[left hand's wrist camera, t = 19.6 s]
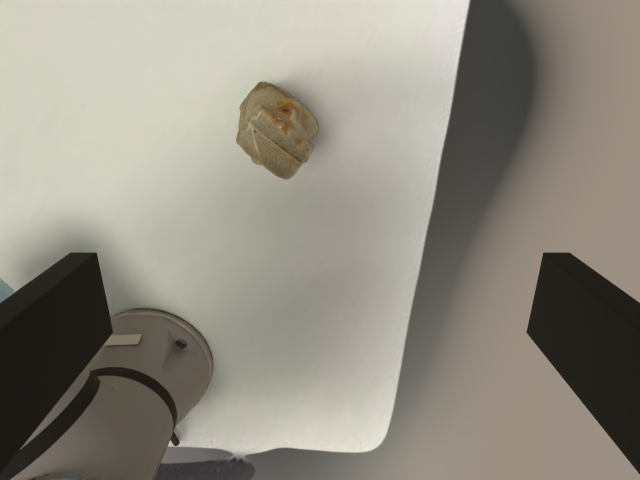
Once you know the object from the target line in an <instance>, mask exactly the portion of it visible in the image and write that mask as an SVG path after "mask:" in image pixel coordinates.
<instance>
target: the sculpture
mask: <svg viewBox="0 0 640 480" xmlns="http://www.w3.org/2000/svg"><path fill="white" fill-rule="evenodd" d="M240 111H241V113H240V120H239V132H238V134H237V139H236V140H237V144H239V145H240V146H241V148H242V149H243V150H244V151H245V152H246V153H247V154H248V155H249V156H251V159H252V161H253V162H254V163H255V164H259V165H263V166H264V167H265V168H266V169H268V170H269V171H270V172H272V173H273V174H274V175H276V176H278V177H280V178H283V179H289V178H291V177H292V176H294V175H295V174H296V172H297V171H298V169H299V167H300V166H301V165H302V164H303V163H305V162H307V160H308V158H309V156H310V154H311V153H312V151H313V146H312V144H311V143H310V142H309V139H312V138H313V137H314V136H315V135H316V134H317V132H318V128H319V125H318V122H317V120H316V118H315V117H314V116H313V115H312V113H311V112H310V111H309V110H308V109H306V108H305V107H304V106H303V105H302V104H301V103H300V102H298V101H297V100H296V99H294V98H293V97H292V96H290V95H289V94H288V93H286V92H285V91H283V90H282V89H280V88H278V87H276V86H274V85H272V84H270V83H267V82H259V83H258V84H257V85H256V86H255V87H254V89H253V90H252V91H251V92H250V93H249V94H248V96H247V97H246V98H245V100H244V101H243V102H242V104H241V106H240Z"/></svg>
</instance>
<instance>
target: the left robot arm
mask: <svg viewBox="0 0 640 480" xmlns="http://www.w3.org/2000/svg"><path fill="white" fill-rule="evenodd" d="M527 334H528V335H529V336H530V337H531V339H532V340H533V341H534V342H535V344H536V345H537V346H538V347H539V349H540V350H541V351H542V352H543V354H544V355H545V356H546V357H547V359H548V360H549V361H550V362H551V364H552V365H553V366H554V367H555V369H556V370H557V371H558V372H559V374H560V375H561V376H562V377H563V379H564V380H565V381H566V382H567V384H568V385H569V386H570V387H571V389H572V390H573V391H574V392H575V394H576V395H577V396H578V397H579V399H580V400H581V401H582V402H583V404H584V405H585V406H586V407H587V409H588V410H589V411H590V413H591V414H592V415H593V416H594V418H595V419H596V420H597V421H598V423H599V424H600V425H601V426H602V428H603V429H604V430H605V431H606V432H607V434H608V435H609V436H610V438H611V439H612V440H613V441H614V443H615V444H616V445H617V446H618V448H619V449H620V450H621V451H622V453H623V454H624V455H625V456H626V458H627V459H628V460H629V461H630V463H631V464H632V465H633V466H634V468H635V469H636V470H637V471H638V473H639V474H640V303H639V302H638V301H636V300H635V299H633V298H632V297H631V296H629V295H628V294H626V293H625V292H624V291H622V290H621V289H619V288H618V287H617V286H615V285H614V284H612V283H611V282H610V281H608V280H607V279H605V278H604V277H603V276H601V275H600V274H599V273H597V272H596V271H594V270H593V269H592V268H590V267H589V266H587V265H586V264H585V263H583V262H582V261H580V260H579V259H578V258H576V257H575V256H573V255H572V254H571V253H543V257H542V262H541V267H540V272H539V276H538V281H537V286H536V291H535V295H534V300H533V305H532V310H531V314H530V319H529V324H528V329H527ZM211 375H212V357H211V353H210V350H209V348H208V346H207V344H206V342H205V341H204V339H203V338H202V336H201V335H200V334H199V333H198V332H197V331H196V330H195V329H194V328H193V327H192V326H190V325H189V324H188V323H186V322H185V321H183V320H182V319H180V318H178V317H176V316H174V315H171V314H168V313H165V312H162V311H157V310H150V309H136V310H129V311H125V312H122V313H119V314H117V315H115V316H113V317H111V318H110V314H109V310H108V305H107V300H106V295H105V290H104V286H103V281H102V276H101V271H100V267H99V262H98V257H97V253H69V254H68V255H67V256H65V257H64V258H62V259H61V260H60V261H58V262H57V263H55V264H54V265H53V266H51V267H50V268H48V269H47V270H46V271H44V272H43V273H41V274H40V275H39V276H37V277H36V278H35V279H33V280H32V281H30V282H29V283H28V284H26V285H25V286H23V287H22V288H21V289H19V290H18V291H16V292H15V291H14V290H13V289H12V288H11V287H10V286H8V285H7V284H6V283H5V282H4V281H3V280H2V279H1V278H0V480H154V479H155V476H156V473H157V471H158V468H159V466H160V463H161V461H162V458H163V456H164V453H165V451H166V448H167V446H168V444H169V441H170V440H171V441H172V443H173V445H174V446H177V445H179V443H180V442H179V440H178V438H177V436H176V435H175V433H174V428H175V426H176V425H177V424H178V423H179V422H180V421H181V420H182V419H183V418H184V417H185V416H186V414H187V413H188V412H189V411H190V410H191V409H192V408H193V407H194V406H195V405H196V404H197V403H198V402H199V400H200V399H201V397H202V396H203V394H204V392H205V391H206V389H207V386H208V384H209V381H210V378H211Z"/></svg>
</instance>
